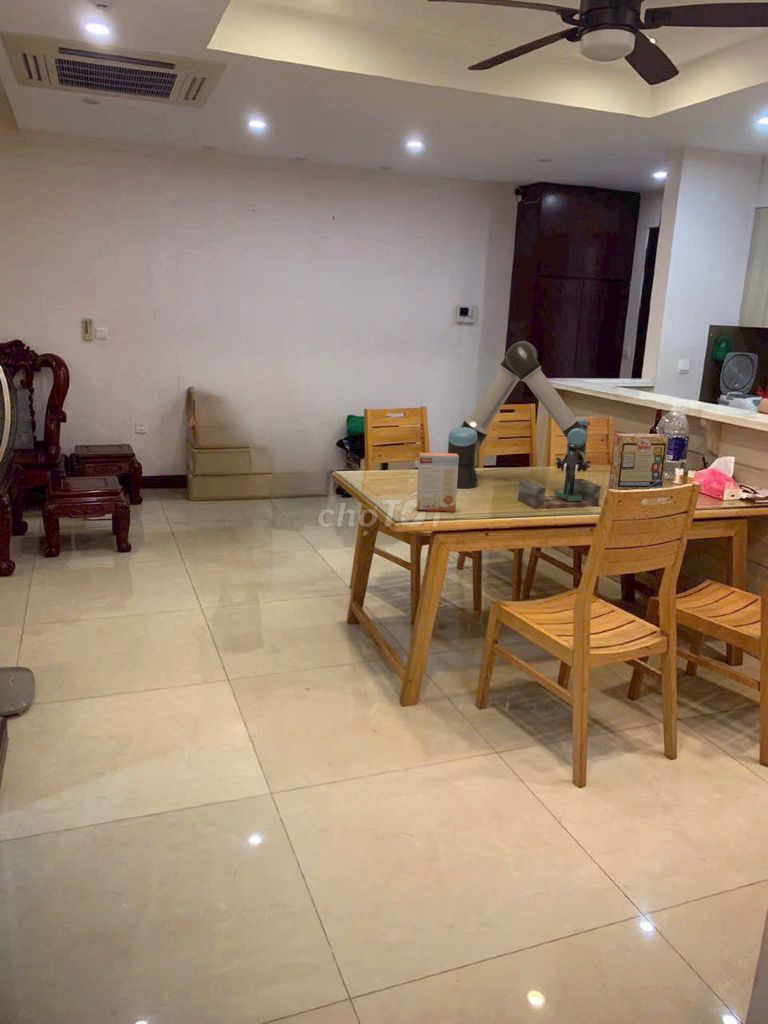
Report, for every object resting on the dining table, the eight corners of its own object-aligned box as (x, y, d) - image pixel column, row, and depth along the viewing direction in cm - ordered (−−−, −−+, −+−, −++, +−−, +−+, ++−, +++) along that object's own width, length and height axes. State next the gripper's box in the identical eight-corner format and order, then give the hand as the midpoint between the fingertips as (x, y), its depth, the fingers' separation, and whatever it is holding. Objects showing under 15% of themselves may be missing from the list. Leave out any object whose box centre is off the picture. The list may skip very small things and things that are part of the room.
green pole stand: (568, 501, 291) (573, 447, 285) (554, 495, 300) (560, 442, 294) (581, 500, 292) (587, 446, 287) (567, 494, 302) (573, 442, 296)
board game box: (653, 499, 309) (662, 433, 302) (661, 503, 303) (670, 436, 296) (606, 498, 306) (614, 432, 299) (612, 502, 300) (621, 435, 293)
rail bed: (534, 509, 285) (536, 487, 283) (517, 500, 297) (519, 479, 295) (598, 506, 294) (600, 485, 291) (580, 498, 306) (582, 477, 303)
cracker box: (453, 508, 281) (457, 452, 275) (455, 512, 275) (459, 455, 269) (415, 507, 280) (419, 451, 275) (417, 511, 274) (420, 454, 269)
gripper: (594, 470, 308) (591, 482, 286) (552, 466, 313) (546, 477, 291) (596, 452, 306) (593, 462, 284) (554, 448, 311) (548, 458, 289)
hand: (570, 470), depth 288 cm, fingers closed on green pole stand, 4 cm apart
